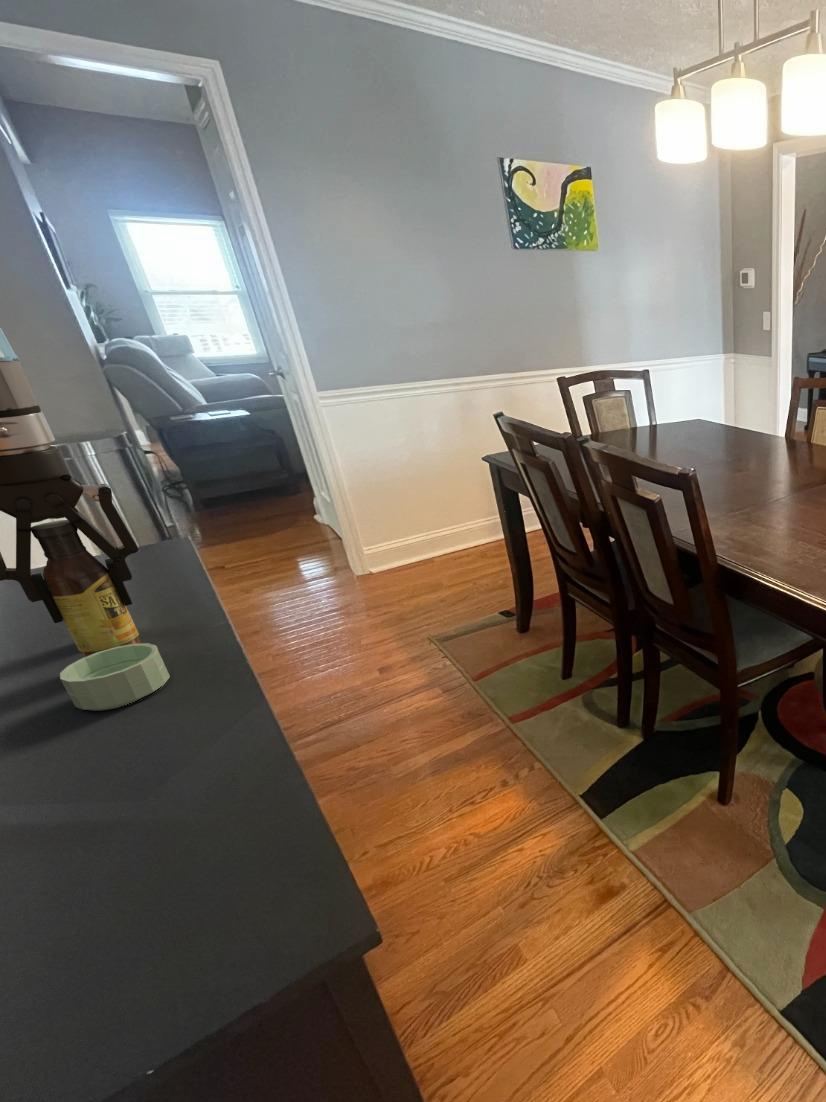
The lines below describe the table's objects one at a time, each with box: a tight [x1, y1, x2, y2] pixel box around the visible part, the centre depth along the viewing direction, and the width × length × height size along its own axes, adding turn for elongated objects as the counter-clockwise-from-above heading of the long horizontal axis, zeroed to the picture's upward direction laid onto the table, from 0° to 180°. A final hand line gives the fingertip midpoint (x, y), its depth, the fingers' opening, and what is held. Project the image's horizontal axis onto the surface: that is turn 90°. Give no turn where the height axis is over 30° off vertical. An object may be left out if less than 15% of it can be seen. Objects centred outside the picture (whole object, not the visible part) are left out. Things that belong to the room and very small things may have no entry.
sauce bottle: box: [31, 519, 142, 658], centre depth 83 cm, size 7×6×20 cm
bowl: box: [59, 642, 171, 712], centre depth 80 cm, size 9×9×5 cm
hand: (94, 610), depth 85 cm, fingers closed on sauce bottle, 6 cm apart
